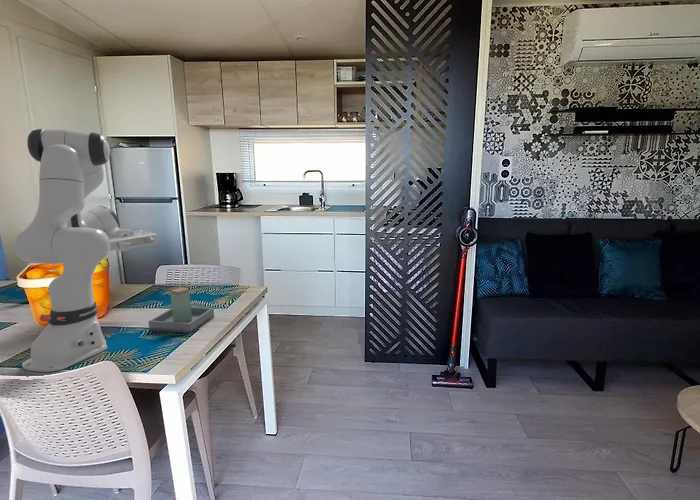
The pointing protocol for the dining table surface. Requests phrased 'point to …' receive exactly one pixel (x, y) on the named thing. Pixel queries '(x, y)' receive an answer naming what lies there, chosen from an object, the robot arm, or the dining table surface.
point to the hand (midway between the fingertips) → (141, 243)
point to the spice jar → (181, 305)
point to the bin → (167, 324)
